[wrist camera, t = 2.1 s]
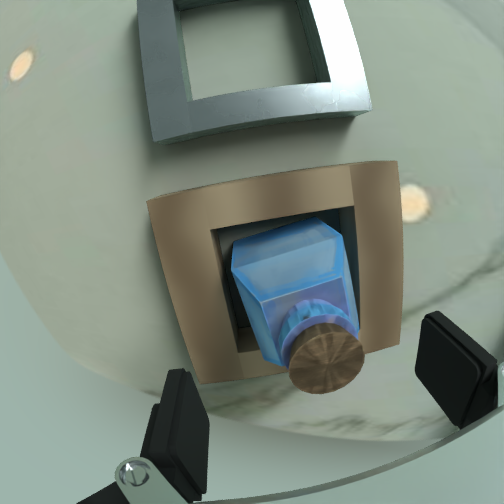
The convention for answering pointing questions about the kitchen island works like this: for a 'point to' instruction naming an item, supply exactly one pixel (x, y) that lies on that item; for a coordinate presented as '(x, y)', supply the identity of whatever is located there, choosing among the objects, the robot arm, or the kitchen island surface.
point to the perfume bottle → (301, 303)
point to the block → (251, 101)
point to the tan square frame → (267, 207)
